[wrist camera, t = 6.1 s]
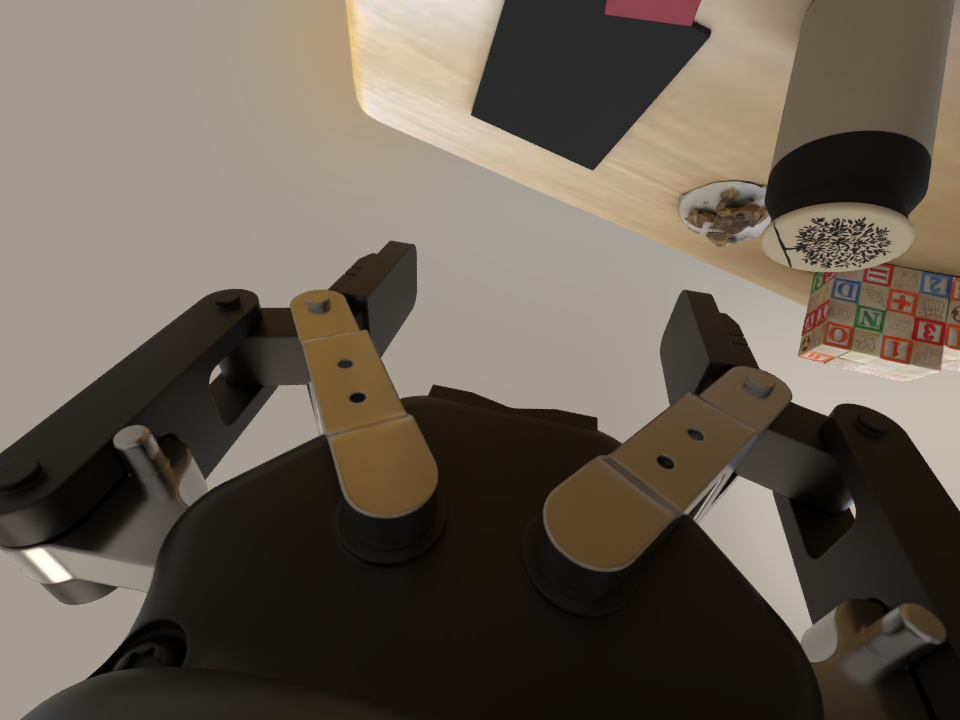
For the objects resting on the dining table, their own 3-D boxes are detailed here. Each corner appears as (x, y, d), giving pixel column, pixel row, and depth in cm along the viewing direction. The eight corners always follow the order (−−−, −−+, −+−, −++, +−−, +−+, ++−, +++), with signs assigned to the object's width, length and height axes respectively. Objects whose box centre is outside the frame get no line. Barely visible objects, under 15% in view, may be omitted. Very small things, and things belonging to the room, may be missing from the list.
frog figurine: (714, 165, 48) (707, 196, 48) (813, 203, 49) (807, 234, 49) (659, 214, 60) (652, 240, 59) (740, 245, 61) (734, 270, 60)
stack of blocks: (1050, 291, 51) (1041, 394, 49) (999, 310, 57) (989, 402, 55) (837, 254, 56) (821, 345, 54) (811, 275, 62) (796, 358, 60)
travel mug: (973, -79, 25) (935, 199, 22) (941, 43, 31) (907, 276, 28) (801, -23, 30) (749, 212, 27) (802, 74, 36) (759, 274, 33)
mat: (526, -69, 33) (524, -63, 32) (711, 30, 35) (710, 36, 35) (472, 111, 52) (470, 115, 52) (594, 166, 55) (592, 170, 54)
